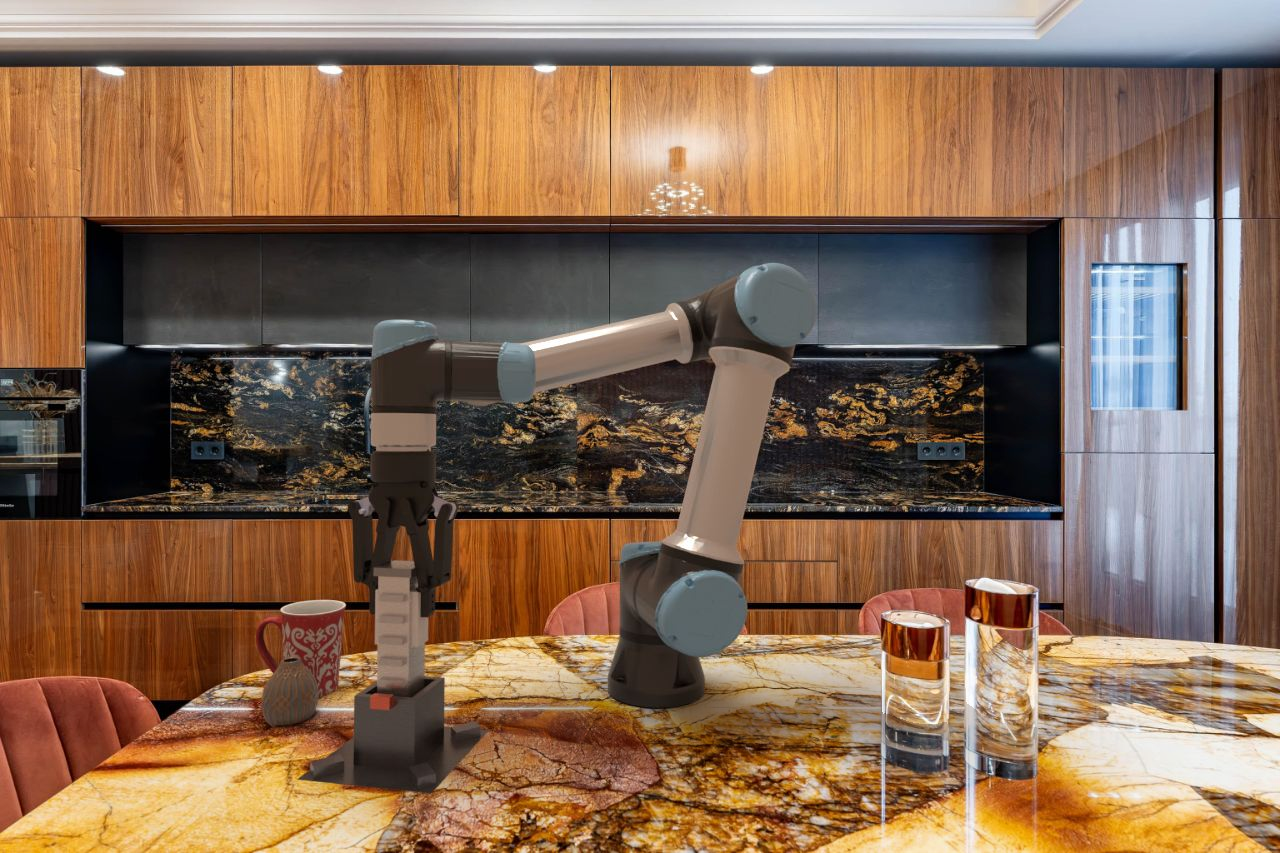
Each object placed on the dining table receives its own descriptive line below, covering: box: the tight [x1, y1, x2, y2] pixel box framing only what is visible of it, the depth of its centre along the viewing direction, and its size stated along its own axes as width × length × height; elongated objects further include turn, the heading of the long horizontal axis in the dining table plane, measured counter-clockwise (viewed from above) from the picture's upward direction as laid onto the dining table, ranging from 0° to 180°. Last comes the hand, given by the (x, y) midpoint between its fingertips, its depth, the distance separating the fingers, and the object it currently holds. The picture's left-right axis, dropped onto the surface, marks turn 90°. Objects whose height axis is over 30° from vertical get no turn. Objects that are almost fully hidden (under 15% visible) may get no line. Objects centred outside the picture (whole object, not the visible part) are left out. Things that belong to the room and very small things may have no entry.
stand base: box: [297, 675, 489, 794], centre depth 84 cm, size 16×16×10 cm
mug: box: [255, 599, 347, 701], centre depth 104 cm, size 13×9×14 cm
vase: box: [261, 657, 319, 728], centre depth 94 cm, size 7×7×9 cm
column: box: [373, 559, 426, 698], centre depth 84 cm, size 5×5×22 cm
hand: (401, 641), depth 84 cm, fingers closed on column, 4 cm apart
